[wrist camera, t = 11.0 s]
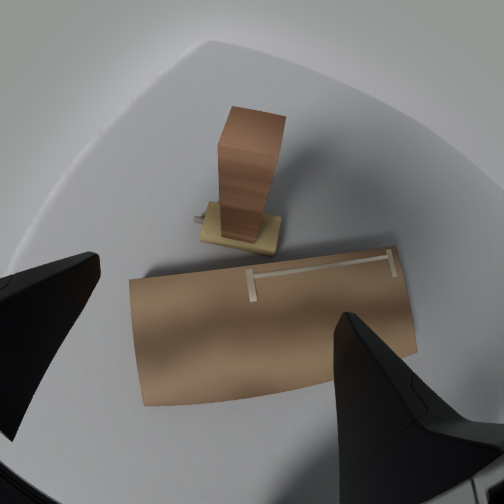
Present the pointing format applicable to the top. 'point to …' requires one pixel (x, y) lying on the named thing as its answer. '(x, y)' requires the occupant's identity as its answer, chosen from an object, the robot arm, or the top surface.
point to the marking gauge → (245, 183)
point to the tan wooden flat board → (261, 324)
